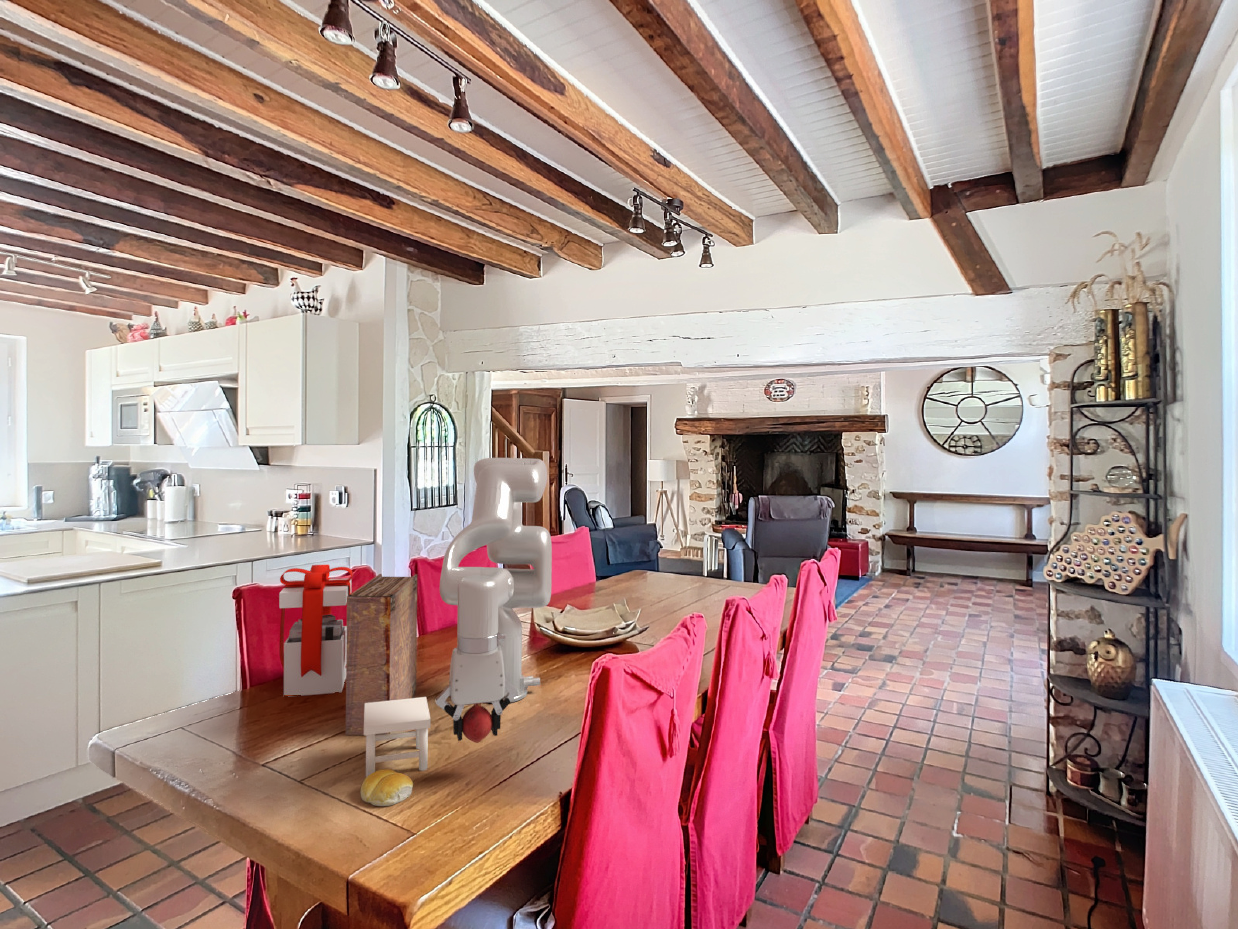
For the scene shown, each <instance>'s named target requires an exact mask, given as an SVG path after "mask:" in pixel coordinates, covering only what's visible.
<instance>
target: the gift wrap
mask: <svg viewBox="0 0 1238 929" xmlns="http://www.w3.org/2000/svg"><path fill="white" fill-rule="evenodd" d="M310 567H311V568H310V569H309V570H308V569H304V568H299V567H298V568H297V567H295V568H292V567H291V568H289V569H286V570H285V571H284V572H283V573H282V574H281V576H280V577H279V581H280V583H281V585H284V586H283V587H282V590H281V591H280V592H279V595H278V598H279V600H278V601H279V605H278V606H279V609H281V610H280V612H281V613H280V614H281V615H280V623H279V624H280V625H279V626H280V627H279V645H278V646H279V653H278V654H279V659H280V664H281V666H282V669H283V696H284V695H301V696H313V695H325V694H334V693H335V692H339V693H343V690H344V686H345V683H346V644H347V625H344V620H343V619H336V616H335V615H333V614H332V607H337V606H340V607H341V606H347V596H349V595H350V594H352V578H353V576H354V572H353V570H352V569H351V568H350V567H347V566H337V567H332V568H330V567H331V566H330V564H312V565H311V566H310ZM336 571H345V572H348V573H349V575H350V577H349V578H331V577H330V573H331V572H336ZM292 572H293V573H296V572H297V573H300V574H304V576H303V579H302V580H301V579H298V580H294V579H293V580H290V581H289V580H286V579H285V574H287V573H292ZM292 608H294V609H295V608H302V609H301V610H302V611H301V618H300V619H298V621H295V622H294V623H293V625H292V626H291V628H290V629H289V635H288V637H287V638H286V640H285V639H284V638H285V637H284V636H285V611H286V609H292ZM284 640H285V641H284ZM344 682H345V683H344ZM335 694H336V693H335Z"/></svg>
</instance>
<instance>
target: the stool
mask: <svg viewBox="0 0 1238 929" xmlns="http://www.w3.org/2000/svg"><path fill="white" fill-rule="evenodd" d="M429 728H431V714H430V710H429V704H428V699H427V696H422V697H421V696H420V697H413V698H410V699H401V700H391V701H381V702H372V703H365V709H364V735H363V736H365V778H366V777H368V776H369V775H370V774H372V773H373V772H376V764H377V763H383V762H389V761H390V762H392V761H397V760H398V761H399V760H405V759H412V758H418V770H419V771H427V770H428V752H429V751H428V750H429V749H428V748H429V747H428V743H429V740H428V739H429ZM389 732H391V733H390V734H385V735H375V734H380V733H389ZM395 732H396V733H395ZM412 737H415V749H416V751H409V752H400V753H393V754H385V755H378V756H376V742H381V741H388V740H397V739H405V738H412Z"/></svg>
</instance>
